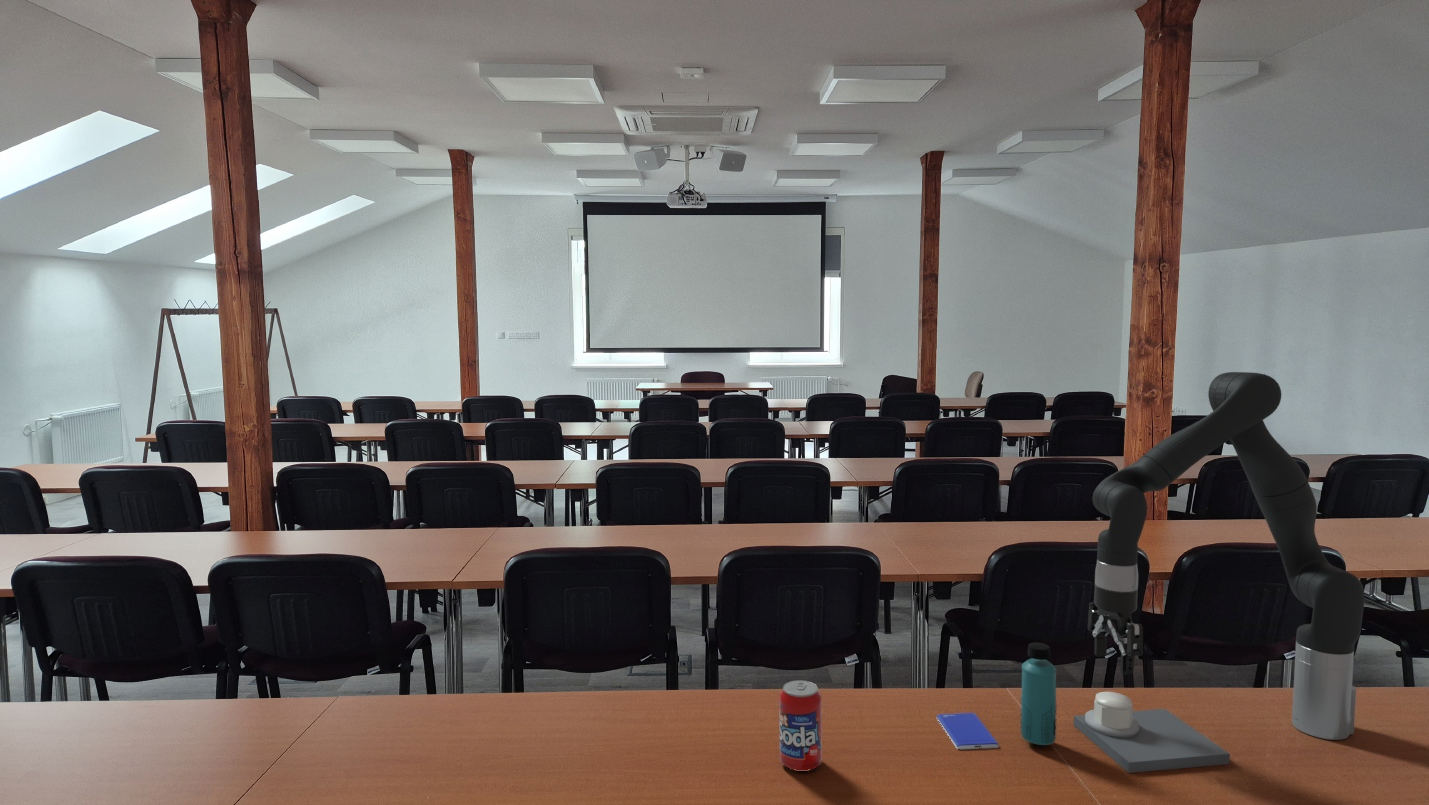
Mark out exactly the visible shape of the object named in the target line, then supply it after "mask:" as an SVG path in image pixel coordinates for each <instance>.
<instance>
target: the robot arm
mask: <svg viewBox="0 0 1429 805" xmlns="http://www.w3.org/2000/svg"><path fill="white" fill-rule="evenodd" d="M1207 393H1208V395H1207V396H1208V401H1209V404H1210V408H1211V410H1212V412H1210V413H1209V414H1208V415H1206V416H1204V417H1203V418H1201V419H1200V420H1197V421H1196V422H1194V423H1192V424H1190V425H1189V426H1187V427H1184V428H1183V429H1181V430H1178V431H1176V432H1175V433H1172V434H1171V435H1169V436H1167V437H1166V438H1164V439H1162V440H1161V441H1158V443H1157V444H1156V445H1154V446H1153V447H1152V448H1151V449H1149V450H1148V451H1146V453H1144V454H1143V455H1142V456H1140V458H1138V460H1136V461H1135V462H1133V463H1131V464H1129V465H1127V466H1125V467H1123V468H1121V469H1120V470H1118V471H1115V472H1114V473H1113V474H1110V475H1109V476H1107V477H1106V478H1104V479H1103V480H1102V481H1100V483H1099V484H1098V485H1097V486H1096V488H1095V489H1094V491H1093V494H1092V504H1093V506H1094V508H1095V509H1096V510H1097V511H1098V512H1099V513H1102V514H1104V515H1105V516H1107V517H1109V519H1110V521H1109V525H1108V529H1107V528H1106V529H1103V530H1102V531H1100V533H1099V534H1098V538H1097V552H1096V553H1097V554H1096V565H1095V571H1094V572H1095V573H1094V593H1093V594H1094V597H1093V601H1092V602H1089V603H1088V613H1087V614H1088V615H1087V616H1088V618H1087V630H1088V631H1089V632H1092V634H1091V635H1092V636H1093V638H1094V652H1093V653H1094V655H1095V656H1096V657H1106V656H1107V654H1108V652H1107V650H1108V638H1107V636H1108V635H1110V636H1111V637H1112V638H1113V640H1114V642H1115V644H1117V645H1118V648H1119V651H1120V653H1121V654H1120V666H1119V667H1120V668H1119V669H1120V670H1119V671H1120V673H1121V674H1122V675H1131V674H1133V673H1134V669H1135V668H1134V666H1135V657H1138V656H1143V655H1144V626H1143V624H1142V623H1133V621H1132V614H1133V613H1134V612H1136V611H1137V609H1138V591H1139V590H1138V588H1139V571H1138V570H1139V569H1138V556H1139V554H1138V551H1139V550H1138V549H1139V546H1138V545H1139V540H1140V538H1141V536H1142V533H1143V530H1144V526H1145V522H1146V520H1147V515H1148V502H1147V497H1146V496H1145V494H1146V493H1148V492H1160V491H1163V490H1164V489H1166V488H1167V487H1169V486H1170V485H1172V483H1174V481H1176V480H1177V479H1178V478H1180V477H1181V476H1182V475H1183V474H1185V472H1187V471H1188V470H1189V469H1190V468H1191V467H1193V466H1194V465H1196V463H1198V462H1199V461H1200V460H1202V459H1204V458H1205V457H1206V456H1208V454H1210V453H1212V452H1213V451H1215V450H1216V449H1218V448H1219V447H1221V446H1222V445H1224V444H1225V443H1227V442H1229V441H1230V443H1231V444H1232V446H1233V450H1234V451H1235V453H1236V456H1237V458H1238V460H1239V462H1240V464H1241V467H1242V468H1243V471H1244V473H1245V475H1246V478H1247V481H1248V484H1250V488H1251V491H1252V493H1253V495H1254V497H1255V499H1256V502H1257V505H1258V506H1259V509H1260V511H1261V512H1262V515H1263V517H1264V519H1265V521H1266V524H1267V526H1268V528H1269V531H1270V533H1271V535H1272V537H1273V539H1274V542H1275V543H1276V546H1277V549H1278V552H1279V554H1280V558H1281V562H1282V564H1283V568H1284V571H1285V574H1286V577H1287V582H1288V584H1289V587H1290V589H1291V592H1292V593H1293V595H1294V596H1295V597H1296V599H1297V600H1298V601H1300V602H1301V603H1303V604H1304V605H1306V606H1308V607H1310V608H1312V615H1311V623H1304V624H1302V625H1299V626H1298V627H1297V629H1296V635H1295V636H1296V637H1295V655H1294V670H1293V672H1294V675H1293V677H1294V678H1293V693H1292V694H1293V696H1292V712H1291V714H1292V715H1291V724H1292V726H1293V727H1294V728H1295V729H1297V730H1299V731H1300V732H1303V733H1304V734H1307V735H1309V736H1313V737H1316V738H1319V739H1325V740H1332V741H1335V740H1337V741H1340V740H1345V739H1347V738H1349V737H1350V735H1355V717H1356V716H1355V715H1356V702H1357V701H1356V700H1357V687H1356V686H1354V685H1353V677H1354V657H1355V655H1354V654H1355V644H1356V643H1357V641H1358V640H1359V638H1360V635H1361V632H1362V631H1361V630H1362V624H1363V617H1364V608H1365V590H1364V586H1363V584H1362V582H1361V580H1360V579H1359V577H1357V576H1356V575H1354V574H1353V573H1351V572H1349V571H1346V570H1344V569H1342V568H1339V567H1336V566H1334V565H1332V564H1331V563H1329V561H1328V560H1327V558H1326V556H1325V554H1324V553H1323V551H1322V549H1321V547H1320V544H1319V542H1318V540H1317V537H1316V531H1315V528H1316V519H1317V511H1318V510H1317V509H1318V508H1317V507H1318V506H1317V501H1316V498H1315V495H1314V493H1313V490H1312V488H1311V484H1310V483H1309V480H1308V478H1307V476H1306V474H1305V473H1304V471H1303V469H1302V468H1301V466H1300V465H1299V464H1298V463H1297V461H1296V460H1295V459H1294V457H1292V456H1291V454H1290V453H1289V452H1288V451H1287V450H1285V448H1284V447H1283V446H1282V445H1281V444H1280V443H1279V442H1278V441H1277V440H1276V439H1275V438H1274V437H1273V435H1272V434H1271V432H1270V430H1269V429H1268V427H1267V426H1266V424H1265V421H1264V420H1265V419H1267V418H1269V417H1270V416H1271V415H1272V414H1274V412H1276V410H1277V409H1278V407H1279V405H1280V404H1281V400H1282V389H1281V386H1280V384H1279V383H1278V382H1277V381H1276V379H1275V378H1274V377H1271V376H1270V375H1268V374H1265V373H1259V372H1246V371H1231V372H1230V371H1229V372H1223V373H1220V374H1218V375H1217V376H1215V378H1213V380H1211V382H1210V385H1209V387H1208V392H1207ZM1094 621H1096V623H1095V624H1094ZM1125 636H1126V637H1125Z"/></svg>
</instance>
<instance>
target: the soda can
mask: <svg viewBox="0 0 1429 805" xmlns="http://www.w3.org/2000/svg"><path fill="white" fill-rule="evenodd" d="M778 698H779V703H778V704H779V705H778V706H779V707H778V708H779V710H778V711H779V712H778V713H779V761H780V763H781V765H783V766H784V765H785V766H787V767H788V768H791V769H796V770H808V769H814V768H816V767H817V766H819V765H820V766H821V764H822V763H823V762H822V761H823V760H822V759H823V704H822V702H823V701H822V700H823V698H822V694H821V693H820V691H819V687H818V686H817V684H815V683H814V682H811V681H808V680H804V679H803V680H801V679H799V680H791V681H788V682H786V683H785V684H783V686H782V690H781V692H780V693H779V697H778ZM785 766H784V767H785ZM820 766H819V767H820ZM788 768H787V769H788ZM817 768H818V767H817ZM817 768H816V769H817ZM791 769H790V770H791ZM814 770H815V769H814Z"/></svg>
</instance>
